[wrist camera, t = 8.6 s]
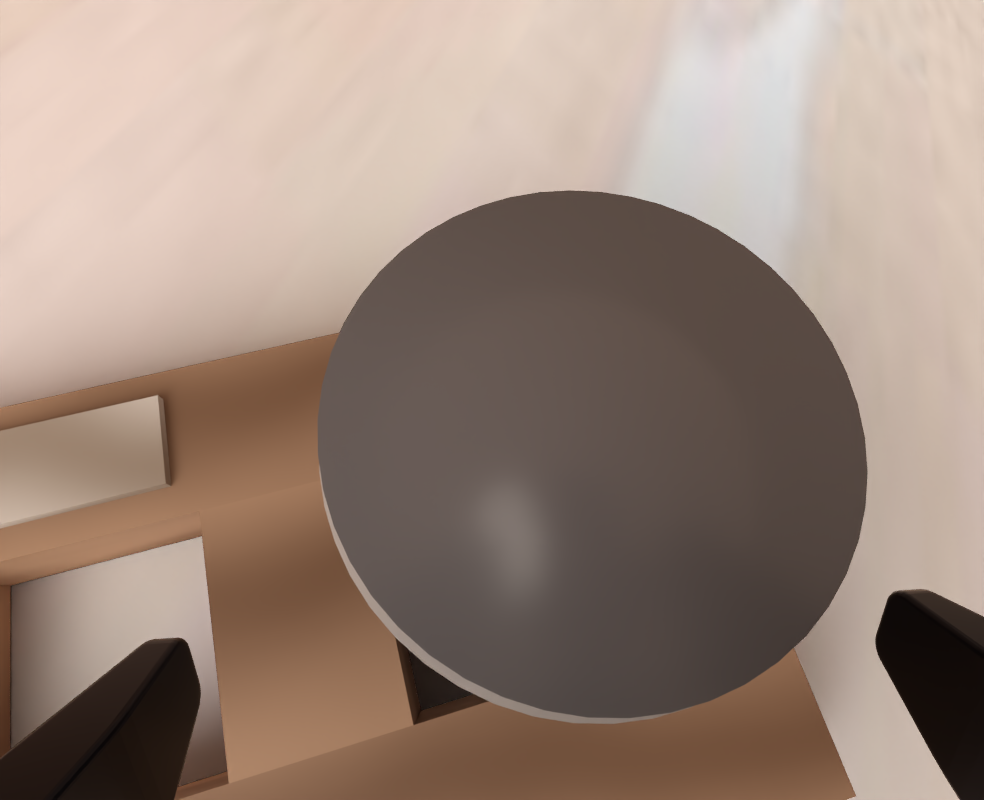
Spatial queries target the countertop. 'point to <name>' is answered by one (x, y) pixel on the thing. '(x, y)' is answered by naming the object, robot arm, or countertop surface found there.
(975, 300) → the countertop surface
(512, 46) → the countertop surface
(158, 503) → the socket plate
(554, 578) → the grey cylinder
